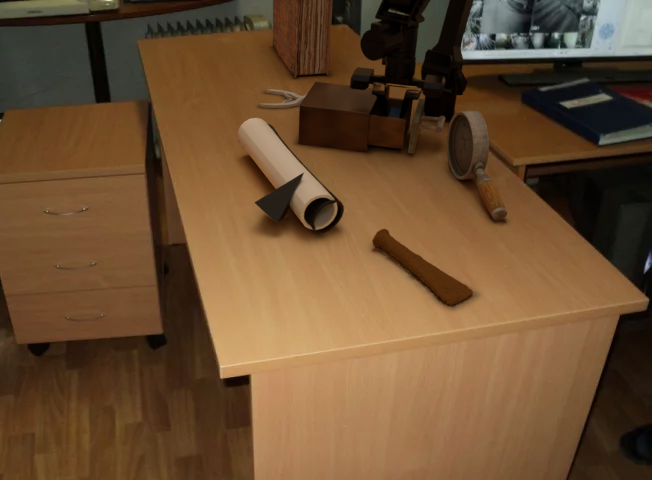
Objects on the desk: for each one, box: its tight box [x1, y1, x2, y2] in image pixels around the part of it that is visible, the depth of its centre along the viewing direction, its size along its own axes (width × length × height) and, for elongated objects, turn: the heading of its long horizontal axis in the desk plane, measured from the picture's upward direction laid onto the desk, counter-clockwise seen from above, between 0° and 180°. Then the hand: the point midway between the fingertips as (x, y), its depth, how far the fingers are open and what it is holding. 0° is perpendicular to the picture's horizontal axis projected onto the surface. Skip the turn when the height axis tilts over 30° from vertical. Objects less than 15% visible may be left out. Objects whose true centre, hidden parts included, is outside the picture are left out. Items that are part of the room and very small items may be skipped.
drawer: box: [368, 96, 446, 154], centre depth 154 cm, size 18×13×7 cm
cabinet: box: [298, 81, 377, 153], centre depth 157 cm, size 15×14×9 cm
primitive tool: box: [371, 228, 474, 306], centre depth 116 cm, size 19×6×4 cm, turn 39°
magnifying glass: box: [446, 110, 508, 221], centre depth 137 cm, size 13×3×25 cm
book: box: [272, 0, 333, 79], centre depth 188 cm, size 25×9×30 cm, turn 13°
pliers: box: [259, 88, 307, 109], centre depth 174 cm, size 10×2×15 cm
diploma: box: [237, 117, 345, 234], centre depth 135 cm, size 35×9×14 cm
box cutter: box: [388, 107, 401, 118], centre depth 154 cm, size 10×2×3 cm, turn 164°
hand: (393, 121), depth 154 cm, fingers closed on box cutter, 2 cm apart
